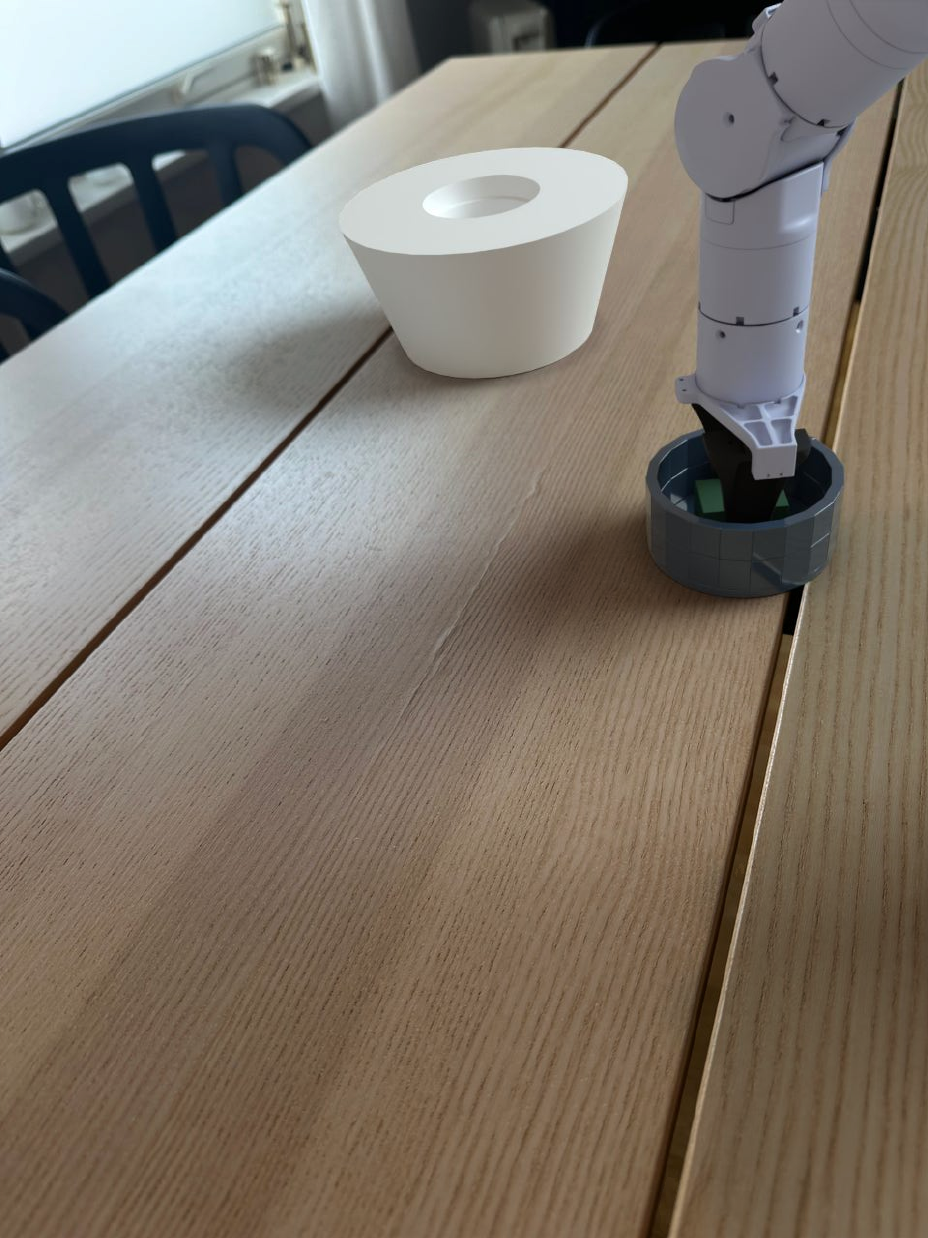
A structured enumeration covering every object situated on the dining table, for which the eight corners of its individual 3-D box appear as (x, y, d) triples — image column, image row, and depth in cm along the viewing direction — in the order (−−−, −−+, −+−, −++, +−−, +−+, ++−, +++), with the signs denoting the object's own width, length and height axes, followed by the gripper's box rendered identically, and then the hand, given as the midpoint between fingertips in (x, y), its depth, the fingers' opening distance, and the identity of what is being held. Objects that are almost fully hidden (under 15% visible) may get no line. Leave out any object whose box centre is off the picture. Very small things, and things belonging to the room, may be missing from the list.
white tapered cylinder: (568, 255, 99) (559, 129, 92) (681, 348, 82) (682, 200, 74) (341, 317, 96) (312, 191, 88) (407, 428, 78) (378, 282, 70)
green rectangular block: (773, 511, 63) (777, 472, 61) (785, 545, 60) (789, 505, 58) (693, 519, 63) (694, 480, 61) (701, 552, 61) (703, 512, 59)
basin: (834, 490, 64) (843, 424, 61) (835, 604, 56) (846, 534, 53) (658, 484, 68) (657, 421, 64) (636, 591, 60) (634, 525, 56)
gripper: (658, 258, 58) (659, 455, 66) (697, 376, 47) (693, 593, 56) (781, 242, 57) (766, 444, 66) (850, 358, 46) (821, 581, 55)
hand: (740, 512), depth 61 cm, fingers closed on green rectangular block, 3 cm apart
